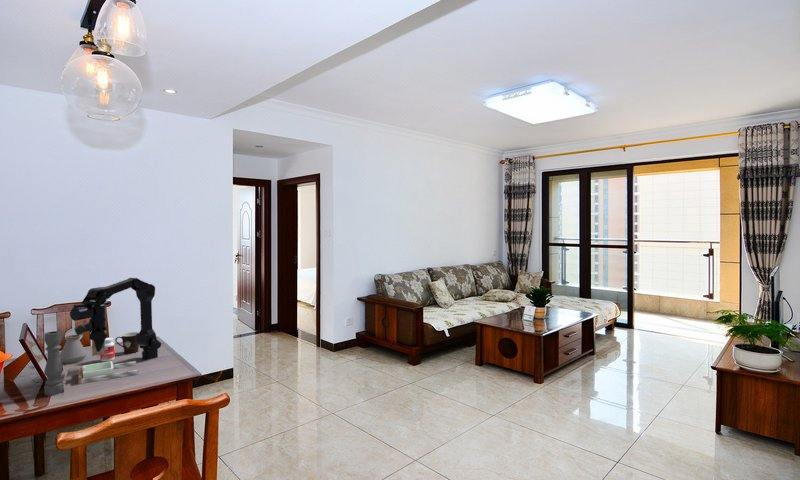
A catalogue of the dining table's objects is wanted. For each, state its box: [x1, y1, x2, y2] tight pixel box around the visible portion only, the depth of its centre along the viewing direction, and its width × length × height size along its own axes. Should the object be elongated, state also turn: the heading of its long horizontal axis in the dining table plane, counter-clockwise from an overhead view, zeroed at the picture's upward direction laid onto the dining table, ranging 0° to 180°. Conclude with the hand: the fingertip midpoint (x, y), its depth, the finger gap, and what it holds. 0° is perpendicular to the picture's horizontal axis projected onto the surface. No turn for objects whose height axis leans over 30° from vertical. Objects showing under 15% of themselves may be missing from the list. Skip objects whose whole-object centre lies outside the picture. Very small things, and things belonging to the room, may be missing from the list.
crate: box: [82, 360, 115, 379], centre depth 191 cm, size 11×12×4 cm
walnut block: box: [91, 340, 105, 357], centre depth 191 cm, size 4×4×6 cm
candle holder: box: [43, 330, 65, 397], centre depth 174 cm, size 6×6×25 cm
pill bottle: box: [99, 337, 116, 363], centre depth 217 cm, size 6×6×11 cm
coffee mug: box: [114, 331, 140, 355], centre depth 231 cm, size 12×9×10 cm
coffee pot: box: [59, 332, 88, 364], centre depth 220 cm, size 21×12×15 cm, turn 8°
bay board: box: [78, 360, 140, 385], centre depth 194 cm, size 22×16×4 cm
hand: (98, 350), depth 191 cm, fingers closed on walnut block, 4 cm apart
